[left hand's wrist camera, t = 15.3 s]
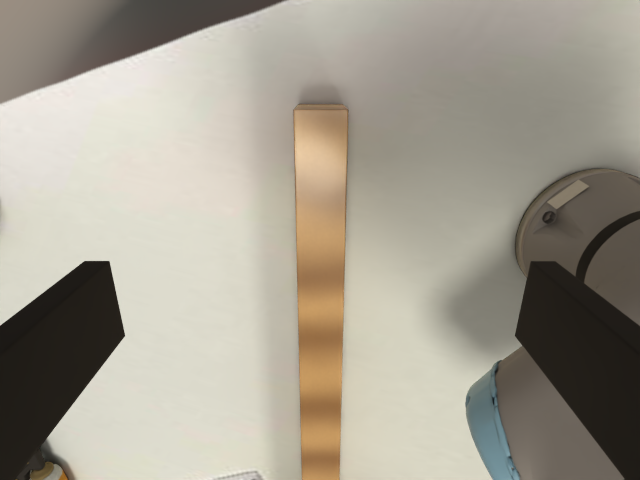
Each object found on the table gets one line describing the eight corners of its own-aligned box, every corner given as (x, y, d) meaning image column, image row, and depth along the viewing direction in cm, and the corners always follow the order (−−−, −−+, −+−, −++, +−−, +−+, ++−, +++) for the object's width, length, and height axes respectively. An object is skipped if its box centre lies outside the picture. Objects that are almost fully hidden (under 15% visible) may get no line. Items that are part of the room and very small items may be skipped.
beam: (298, 104, 41) (293, 109, 33) (343, 104, 41) (348, 109, 33) (306, 527, 64) (304, 585, 57) (334, 527, 64) (336, 585, 57)
